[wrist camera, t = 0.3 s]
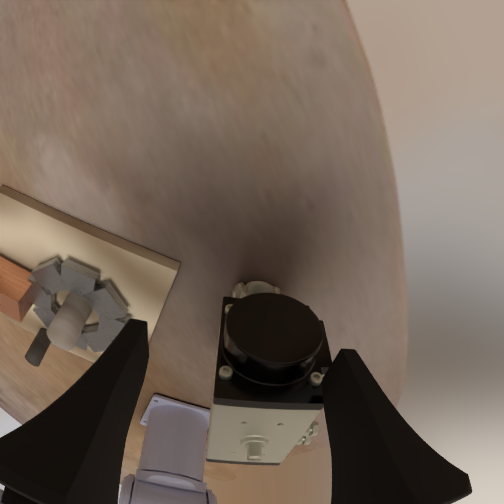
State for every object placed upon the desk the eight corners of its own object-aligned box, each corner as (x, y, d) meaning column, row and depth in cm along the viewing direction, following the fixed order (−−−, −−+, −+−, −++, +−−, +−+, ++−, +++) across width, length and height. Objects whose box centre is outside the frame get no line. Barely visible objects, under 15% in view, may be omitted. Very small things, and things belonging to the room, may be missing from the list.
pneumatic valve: (216, 348, 26) (204, 481, 16) (231, 229, 20) (213, 404, 9) (279, 354, 26) (287, 484, 16) (316, 241, 20) (364, 408, 10)
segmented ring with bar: (139, 290, 20) (125, 322, 18) (119, 357, 25) (110, 385, 22) (-8, 220, 17) (-32, 242, 15) (-1, 298, 22) (-17, 320, 19)
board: (137, 371, 28) (126, 412, 24) (9, 311, 25) (-13, 344, 20) (180, 262, 21) (164, 313, 17) (3, 185, 17) (-38, 215, 13)
